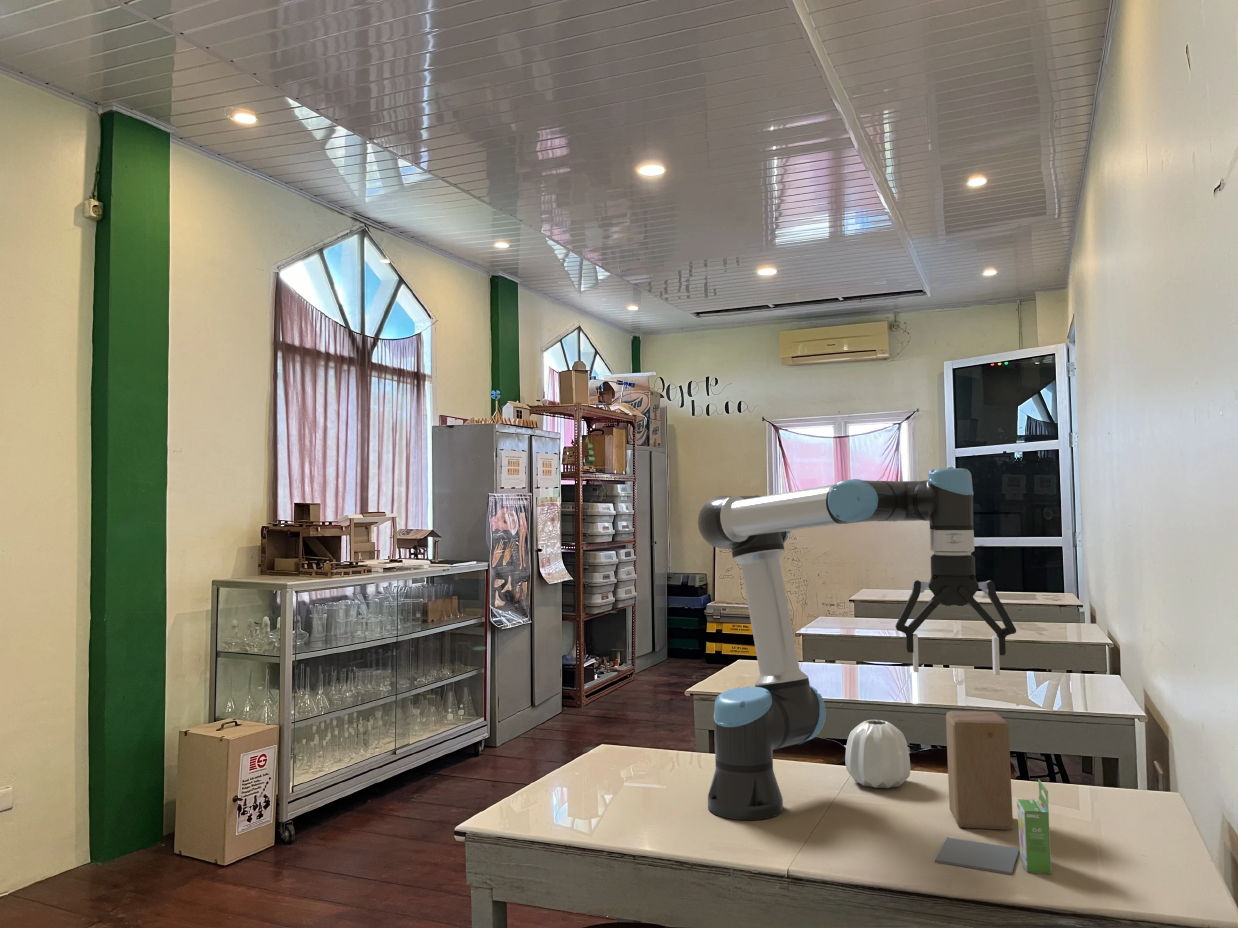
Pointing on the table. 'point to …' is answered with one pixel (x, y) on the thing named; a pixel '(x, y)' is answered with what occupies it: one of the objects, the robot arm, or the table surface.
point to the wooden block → (979, 770)
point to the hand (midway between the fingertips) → (955, 672)
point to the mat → (978, 855)
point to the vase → (877, 755)
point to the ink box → (1035, 833)
